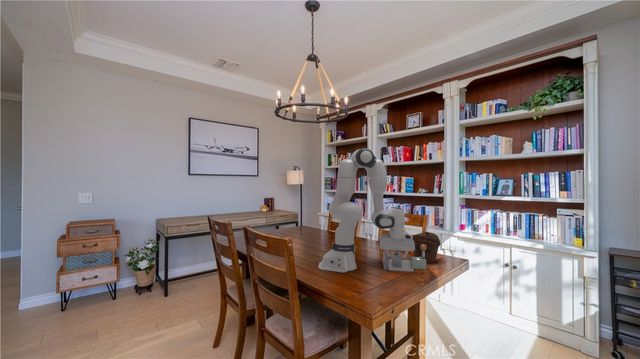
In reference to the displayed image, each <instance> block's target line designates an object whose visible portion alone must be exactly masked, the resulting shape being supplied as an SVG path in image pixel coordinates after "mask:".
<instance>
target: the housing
mask: <svg viewBox="0 0 640 359" xmlns="http://www.w3.org/2000/svg"><path fill="white" fill-rule="evenodd" d="M391 259H392V264H393V265H395V266H402V260H403V254H402V252H401V251H399V250H394V251H391Z"/></svg>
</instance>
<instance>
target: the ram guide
mask: <svg viewBox="0 0 640 359" xmlns="http://www.w3.org/2000/svg"><path fill="white" fill-rule="evenodd" d="M413 258H422V257H414V256H410V259H409V261H410V263H411V265H412V267H413V269H414V270H427V263H426V260H425V259H413Z"/></svg>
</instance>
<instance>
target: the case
mask: <svg viewBox="0 0 640 359" xmlns="http://www.w3.org/2000/svg"><path fill="white" fill-rule="evenodd" d="M412 236H413V241H414V244H415V250H414V251H412V253H413V257H422V250H421V244H426V250H425V259H426V264H433V263H436V262H437V255H438V252H439V248H440V247H441V246H442V245H441V240H440V238H439V236H438V235H437V234H436V233H433V232H429V231H425V232H420V233H416V234H412Z"/></svg>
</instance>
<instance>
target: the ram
mask: <svg viewBox="0 0 640 359" xmlns="http://www.w3.org/2000/svg"><path fill="white" fill-rule="evenodd" d="M421 250H422V258H413V259H425V250H426V244H421ZM425 260H426V259H425Z"/></svg>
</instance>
